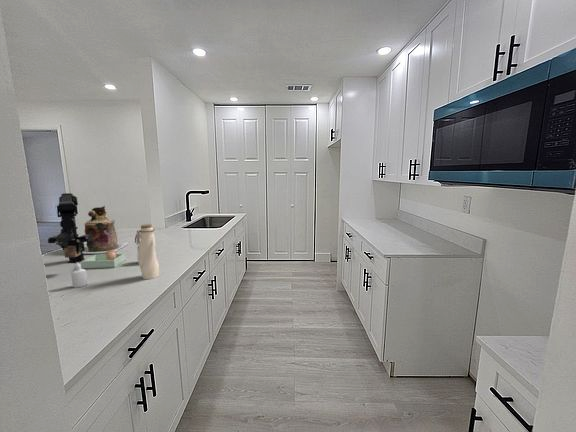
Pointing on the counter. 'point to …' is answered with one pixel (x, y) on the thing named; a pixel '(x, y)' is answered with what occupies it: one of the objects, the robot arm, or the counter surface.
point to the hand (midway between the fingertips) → (72, 254)
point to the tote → (102, 261)
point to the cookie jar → (101, 233)
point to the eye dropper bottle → (79, 276)
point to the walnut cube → (71, 252)
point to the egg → (110, 255)
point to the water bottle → (147, 252)
